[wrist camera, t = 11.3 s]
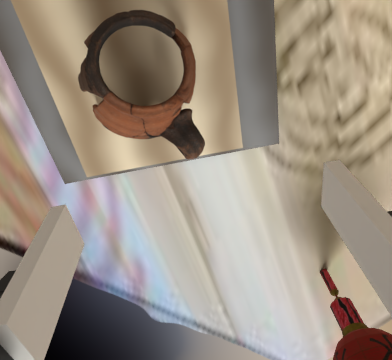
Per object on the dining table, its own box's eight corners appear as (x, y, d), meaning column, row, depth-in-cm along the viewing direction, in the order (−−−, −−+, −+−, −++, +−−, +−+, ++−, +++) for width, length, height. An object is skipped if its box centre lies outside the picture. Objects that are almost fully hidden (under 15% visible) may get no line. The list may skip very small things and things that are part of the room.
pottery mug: (64, 93, 28) (38, 62, 20) (138, 20, 29) (142, -37, 21) (164, 184, 30) (178, 191, 22) (229, 113, 31) (265, 95, 23)
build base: (265, -97, 27) (290, -117, 21) (275, 138, 38) (293, 164, 33) (-31, -33, 28) (-81, -36, 22) (68, 177, 39) (51, 209, 34)
